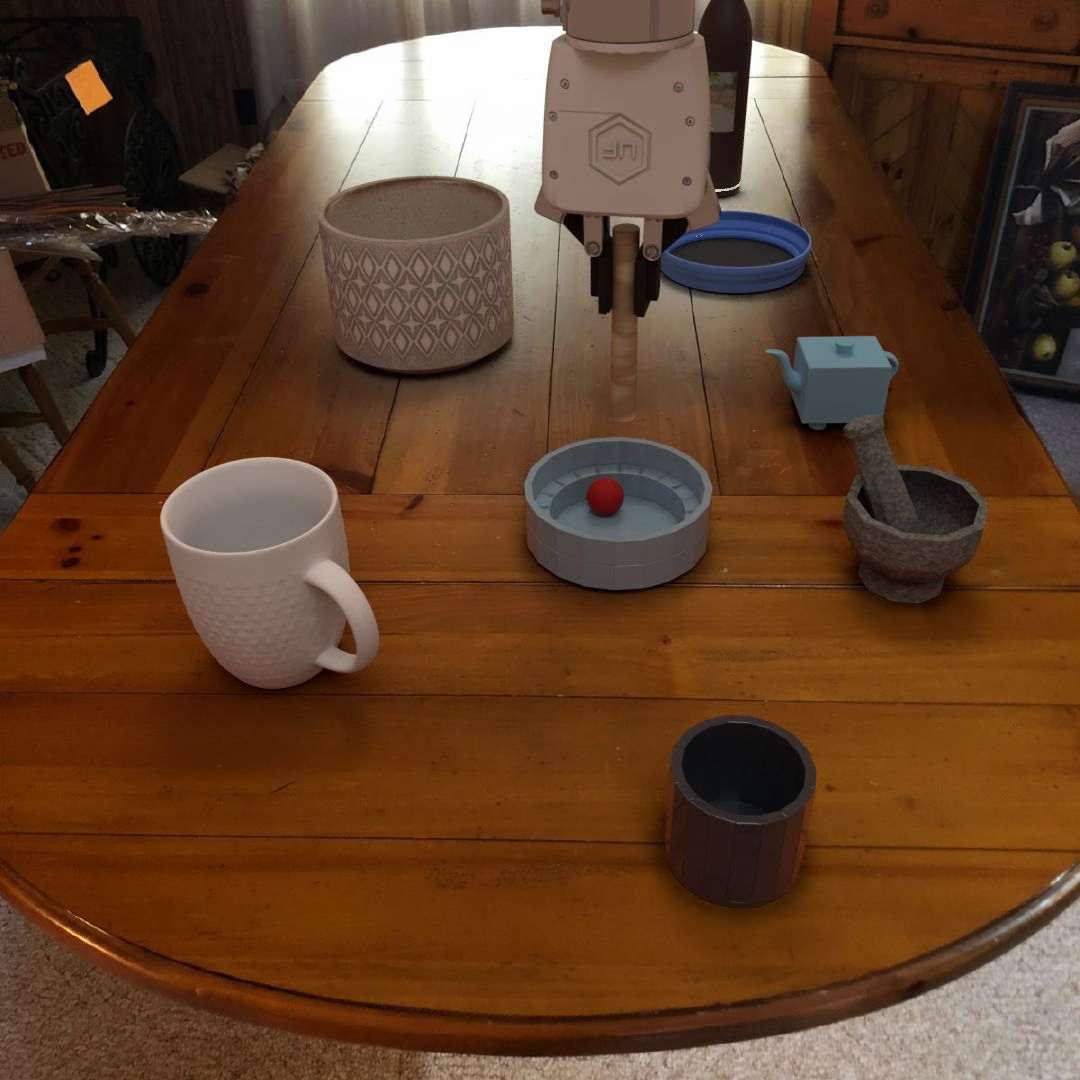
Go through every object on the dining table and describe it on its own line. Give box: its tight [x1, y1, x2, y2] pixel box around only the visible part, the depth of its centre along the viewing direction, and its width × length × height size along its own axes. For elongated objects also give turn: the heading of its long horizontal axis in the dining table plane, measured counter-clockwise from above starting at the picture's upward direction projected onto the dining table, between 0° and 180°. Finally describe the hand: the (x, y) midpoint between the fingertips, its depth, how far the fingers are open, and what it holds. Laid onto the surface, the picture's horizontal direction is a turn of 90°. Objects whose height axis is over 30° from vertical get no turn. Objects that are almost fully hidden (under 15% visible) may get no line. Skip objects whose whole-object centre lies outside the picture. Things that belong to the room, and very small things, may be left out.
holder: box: [664, 714, 818, 909], centre depth 60 cm, size 8×8×7 cm
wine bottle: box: [697, 0, 754, 199], centre depth 142 cm, size 7×7×30 cm
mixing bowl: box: [523, 436, 714, 591], centre depth 85 cm, size 14×14×5 cm
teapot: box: [765, 335, 900, 430], centre depth 99 cm, size 12×6×8 cm, turn 89°
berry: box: [587, 478, 624, 515], centre depth 88 cm, size 3×3×3 cm
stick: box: [610, 222, 641, 423], centre depth 75 cm, size 2×2×14 cm
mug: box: [159, 456, 380, 690], centre depth 71 cm, size 15×11×13 cm
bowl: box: [661, 210, 812, 294], centre depth 128 cm, size 18×18×4 cm
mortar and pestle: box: [843, 414, 991, 604], centre depth 79 cm, size 11×9×12 cm
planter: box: [316, 175, 515, 375], centre depth 111 cm, size 19×19×14 cm
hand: (625, 306), depth 75 cm, fingers closed on stick, 1 cm apart
